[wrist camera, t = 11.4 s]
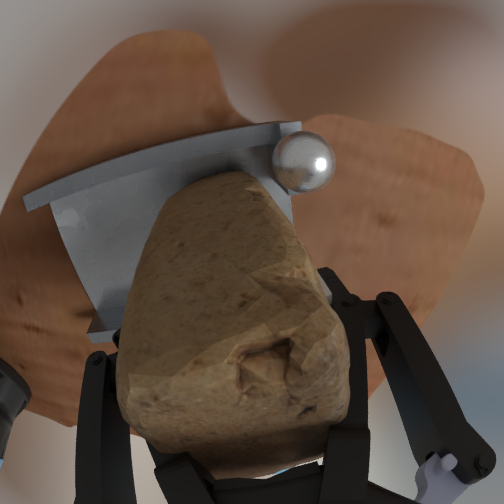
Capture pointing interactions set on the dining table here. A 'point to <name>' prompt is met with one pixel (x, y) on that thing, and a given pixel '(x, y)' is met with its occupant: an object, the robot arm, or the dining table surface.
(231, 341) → the brown blocky piece
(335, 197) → the dining table surface
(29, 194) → the dock
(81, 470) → the robot arm
